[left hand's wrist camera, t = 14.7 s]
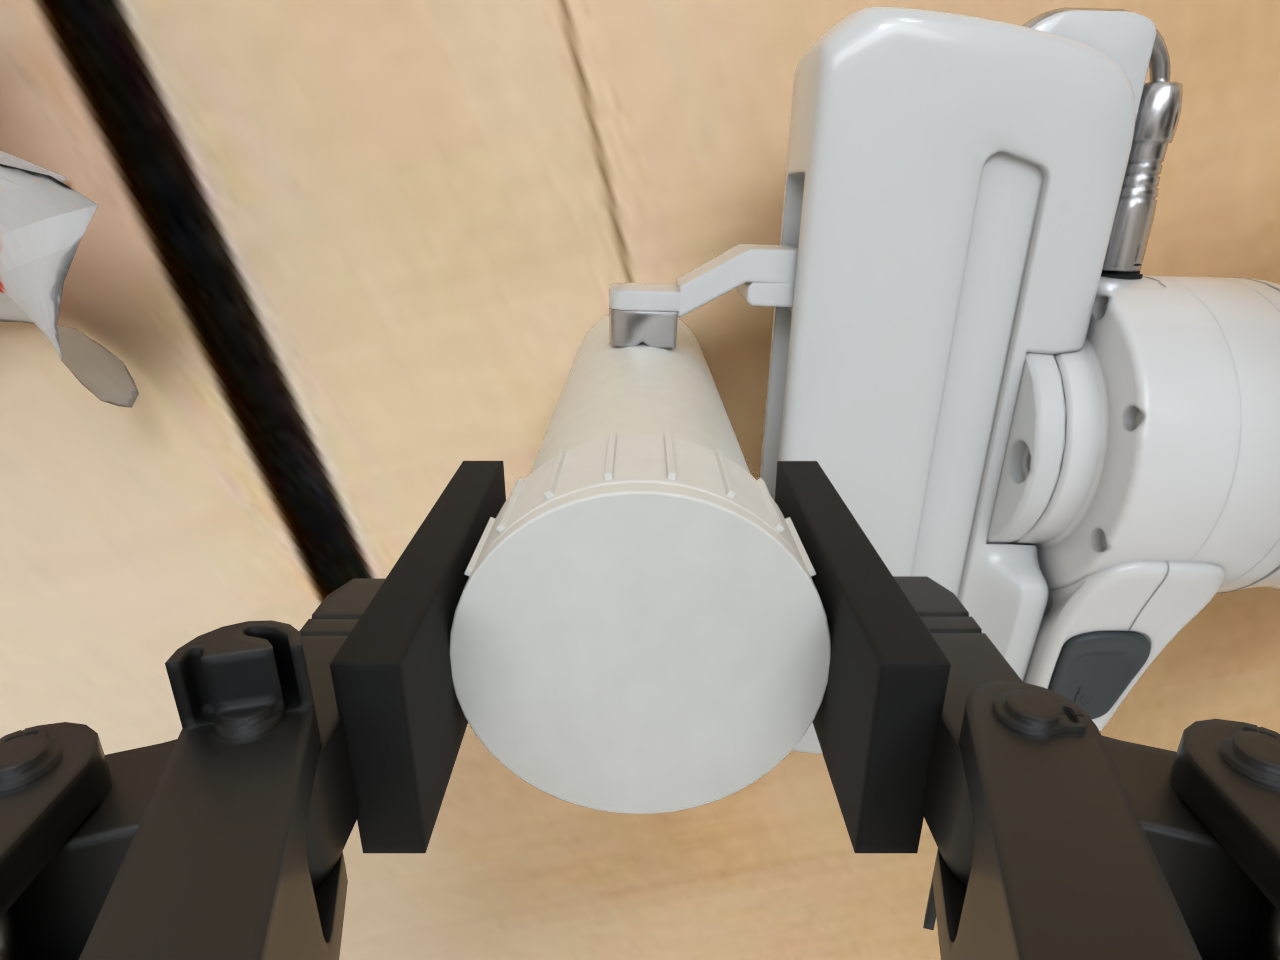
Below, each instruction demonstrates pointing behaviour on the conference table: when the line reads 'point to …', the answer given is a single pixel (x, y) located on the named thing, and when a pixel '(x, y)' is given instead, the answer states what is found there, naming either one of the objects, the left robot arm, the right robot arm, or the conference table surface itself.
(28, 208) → the fish
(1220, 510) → the right robot arm
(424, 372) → the conference table surface
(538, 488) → the lid
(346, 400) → the conference table surface
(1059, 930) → the left robot arm
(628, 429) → the white bottle
